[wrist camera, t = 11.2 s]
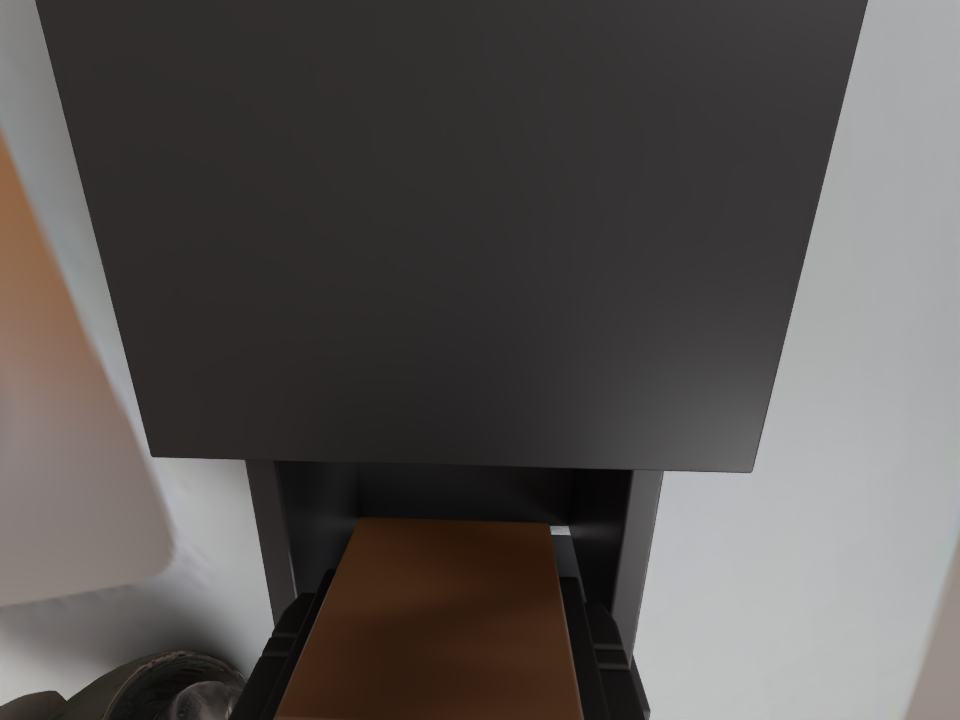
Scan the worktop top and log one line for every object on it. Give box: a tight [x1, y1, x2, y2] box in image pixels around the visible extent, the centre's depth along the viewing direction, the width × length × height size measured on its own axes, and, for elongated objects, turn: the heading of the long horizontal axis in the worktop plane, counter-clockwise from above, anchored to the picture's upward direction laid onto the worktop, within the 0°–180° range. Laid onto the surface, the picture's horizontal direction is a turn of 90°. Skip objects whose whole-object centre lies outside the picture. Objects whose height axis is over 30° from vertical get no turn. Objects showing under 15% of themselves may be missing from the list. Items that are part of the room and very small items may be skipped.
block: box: [273, 517, 584, 720], centre depth 9 cm, size 4×4×4 cm
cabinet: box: [35, 0, 868, 473], centre depth 11 cm, size 16×13×9 cm
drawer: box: [245, 460, 664, 720], centre depth 15 cm, size 19×11×7 cm, turn 179°
